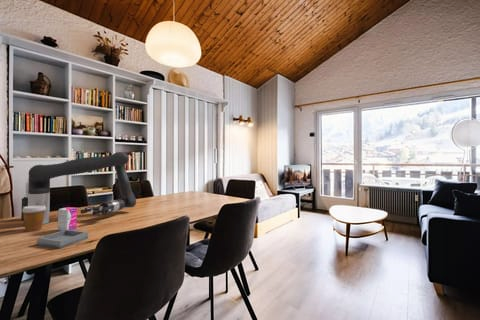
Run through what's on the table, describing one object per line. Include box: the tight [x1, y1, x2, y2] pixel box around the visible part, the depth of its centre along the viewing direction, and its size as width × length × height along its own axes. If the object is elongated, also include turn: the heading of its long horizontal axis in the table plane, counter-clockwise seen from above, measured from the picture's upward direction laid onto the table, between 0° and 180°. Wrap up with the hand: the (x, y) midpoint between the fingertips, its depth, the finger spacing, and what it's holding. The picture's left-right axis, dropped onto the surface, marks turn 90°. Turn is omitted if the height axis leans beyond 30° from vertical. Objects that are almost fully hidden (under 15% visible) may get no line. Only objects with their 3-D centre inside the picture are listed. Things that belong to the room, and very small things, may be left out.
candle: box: [20, 177, 29, 221], centre depth 137 cm, size 5×5×25 cm
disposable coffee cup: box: [21, 205, 46, 233], centre depth 118 cm, size 10×10×12 cm
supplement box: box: [57, 206, 78, 232], centre depth 119 cm, size 6×6×12 cm
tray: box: [36, 229, 89, 249], centre depth 103 cm, size 13×13×3 cm
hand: (87, 212), depth 130 cm, fingers open, 8 cm apart
